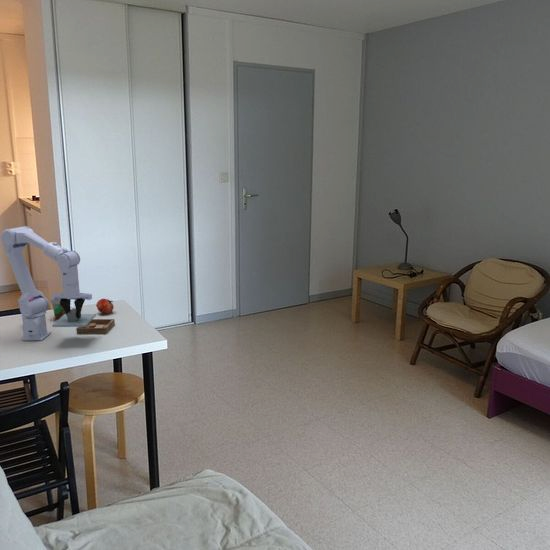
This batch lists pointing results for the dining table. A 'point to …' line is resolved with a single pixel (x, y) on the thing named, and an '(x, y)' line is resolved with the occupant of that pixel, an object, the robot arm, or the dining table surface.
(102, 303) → the pomegranate
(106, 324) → the wooden tray
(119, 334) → the dining table surface
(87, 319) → the lid
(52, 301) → the food container
